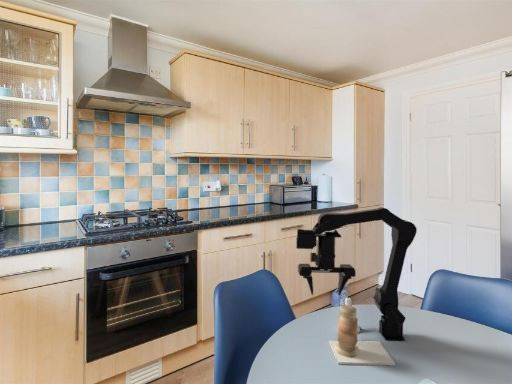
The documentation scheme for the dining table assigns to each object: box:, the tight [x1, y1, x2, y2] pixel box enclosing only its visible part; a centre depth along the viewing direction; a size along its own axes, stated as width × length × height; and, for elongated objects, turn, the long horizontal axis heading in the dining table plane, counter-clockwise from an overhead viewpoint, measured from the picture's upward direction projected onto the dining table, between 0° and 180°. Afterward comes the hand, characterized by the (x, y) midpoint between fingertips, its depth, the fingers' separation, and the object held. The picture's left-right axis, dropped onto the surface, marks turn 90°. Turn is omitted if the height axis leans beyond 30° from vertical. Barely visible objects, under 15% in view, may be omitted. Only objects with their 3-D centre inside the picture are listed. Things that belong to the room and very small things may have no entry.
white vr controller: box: [344, 297, 361, 334], centre depth 112 cm, size 8×12×7 cm
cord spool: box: [335, 305, 359, 357], centre depth 95 cm, size 7×7×13 cm
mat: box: [329, 340, 396, 366], centre depth 95 cm, size 16×12×1 cm
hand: (325, 294), depth 107 cm, fingers open, 9 cm apart
